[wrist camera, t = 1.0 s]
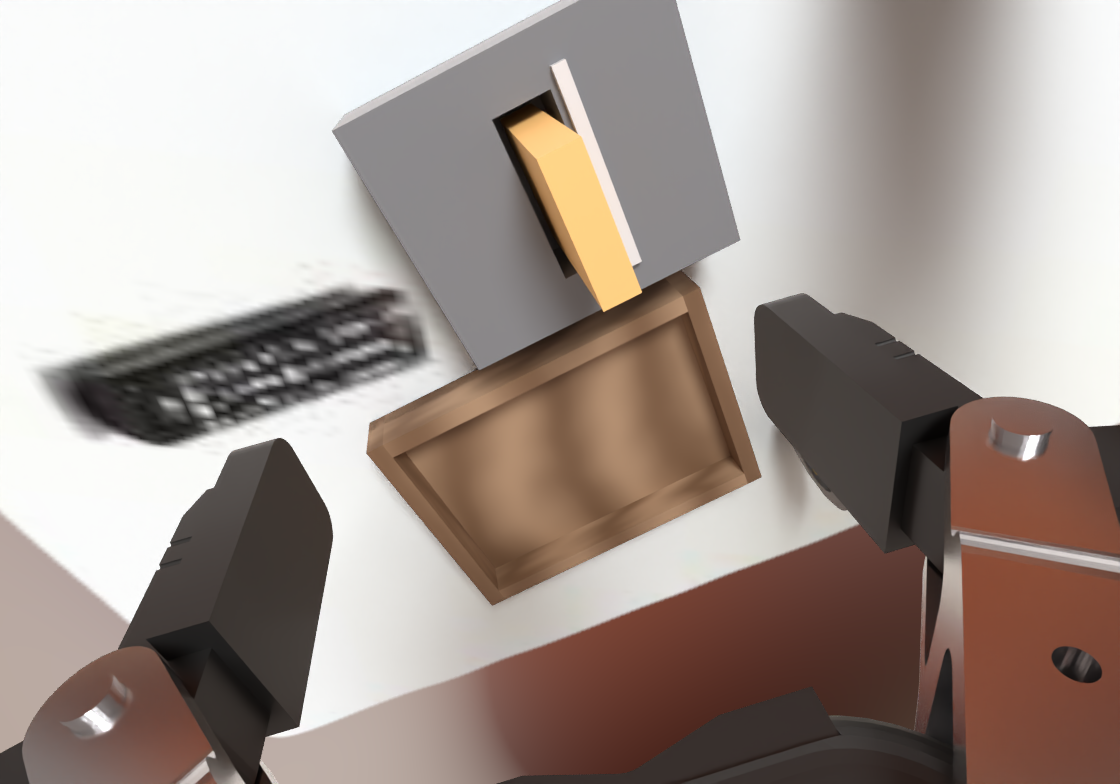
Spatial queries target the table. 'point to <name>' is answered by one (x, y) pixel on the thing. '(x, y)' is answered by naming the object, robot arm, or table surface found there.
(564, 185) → the yellow rectangular block
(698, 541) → the table surface
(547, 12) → the dispenser
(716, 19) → the table surface
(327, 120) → the table surface
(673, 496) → the tray
